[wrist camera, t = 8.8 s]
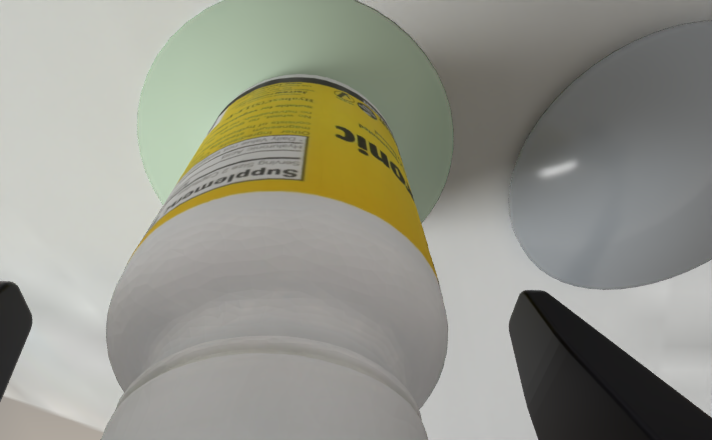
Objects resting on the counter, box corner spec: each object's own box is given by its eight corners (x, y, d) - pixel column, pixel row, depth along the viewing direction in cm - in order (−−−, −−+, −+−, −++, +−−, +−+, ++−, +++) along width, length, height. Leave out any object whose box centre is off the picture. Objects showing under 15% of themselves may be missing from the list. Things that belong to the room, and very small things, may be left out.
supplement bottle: (418, 210, 14) (532, 607, 6) (259, 255, 15) (165, 664, 7) (368, 37, 11) (458, 348, 3) (174, 104, 12) (-184, 501, 4)
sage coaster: (421, 263, 17) (425, 277, 16) (172, 258, 16) (165, 272, 15) (477, -3, 12) (487, 3, 11) (114, -32, 11) (101, -28, 10)
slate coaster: (704, 276, 17) (719, 291, 16) (477, 273, 16) (483, 287, 16) (873, 28, 12) (904, 34, 11) (556, 6, 11) (570, 12, 11)
